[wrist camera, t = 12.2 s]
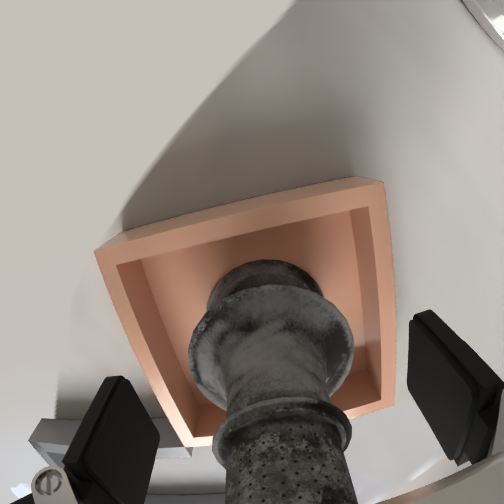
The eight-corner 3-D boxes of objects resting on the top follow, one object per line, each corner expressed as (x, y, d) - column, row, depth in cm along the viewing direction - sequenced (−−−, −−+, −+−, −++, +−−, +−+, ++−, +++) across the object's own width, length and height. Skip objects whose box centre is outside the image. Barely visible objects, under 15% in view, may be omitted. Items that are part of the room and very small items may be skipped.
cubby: (190, 415, 17) (184, 446, 14) (237, 497, 20) (236, 522, 17) (41, 418, 17) (28, 440, 15) (108, 496, 20) (102, 516, 18)
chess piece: (174, 321, 14) (85, 587, 3) (260, 223, 13) (328, 561, 1) (270, 387, 15) (294, 621, 4) (356, 307, 14) (496, 543, 3)
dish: (355, 176, 13) (383, 182, 10) (375, 369, 16) (394, 405, 13) (121, 231, 14) (93, 251, 11) (192, 408, 16) (185, 447, 14)
